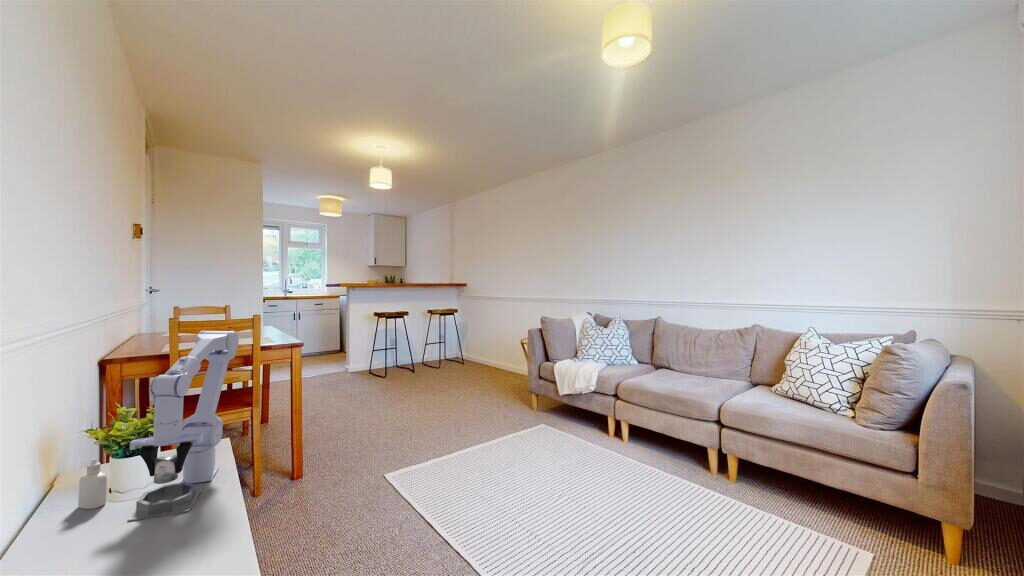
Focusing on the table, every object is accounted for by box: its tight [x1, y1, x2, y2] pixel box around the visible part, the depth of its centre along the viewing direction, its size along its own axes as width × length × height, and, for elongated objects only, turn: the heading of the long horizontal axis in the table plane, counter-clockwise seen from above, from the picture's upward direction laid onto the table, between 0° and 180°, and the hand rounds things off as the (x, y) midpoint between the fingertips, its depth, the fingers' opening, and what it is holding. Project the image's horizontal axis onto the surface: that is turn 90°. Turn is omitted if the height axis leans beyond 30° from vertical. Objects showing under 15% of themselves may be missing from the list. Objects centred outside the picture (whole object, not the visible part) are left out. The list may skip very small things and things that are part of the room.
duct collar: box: [126, 482, 203, 523], centre depth 105 cm, size 12×12×3 cm
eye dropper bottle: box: [77, 457, 108, 510], centre depth 104 cm, size 4×6×12 cm
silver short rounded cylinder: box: [153, 453, 179, 485], centre depth 104 cm, size 6×5×6 cm
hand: (166, 473), depth 105 cm, fingers closed on silver short rounded cylinder, 5 cm apart
